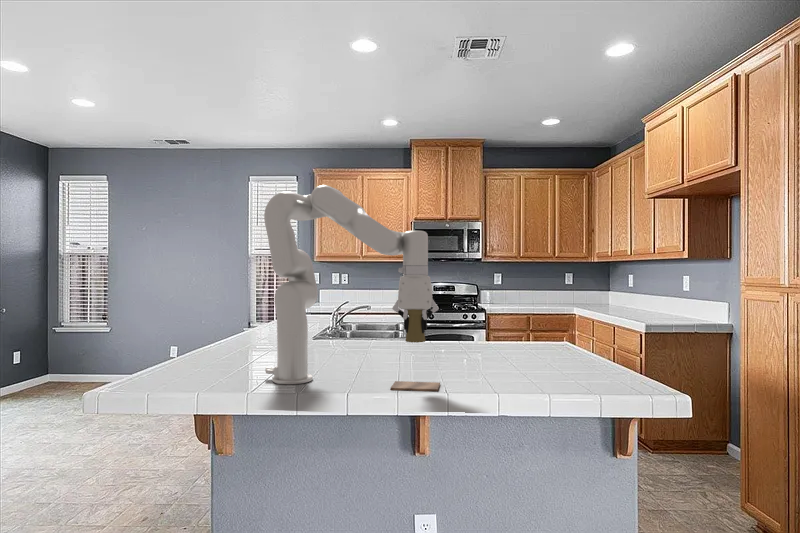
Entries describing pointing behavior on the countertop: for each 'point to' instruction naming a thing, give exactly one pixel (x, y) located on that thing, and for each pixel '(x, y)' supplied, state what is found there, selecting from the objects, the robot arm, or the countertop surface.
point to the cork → (415, 327)
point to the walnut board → (415, 386)
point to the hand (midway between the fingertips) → (415, 331)
